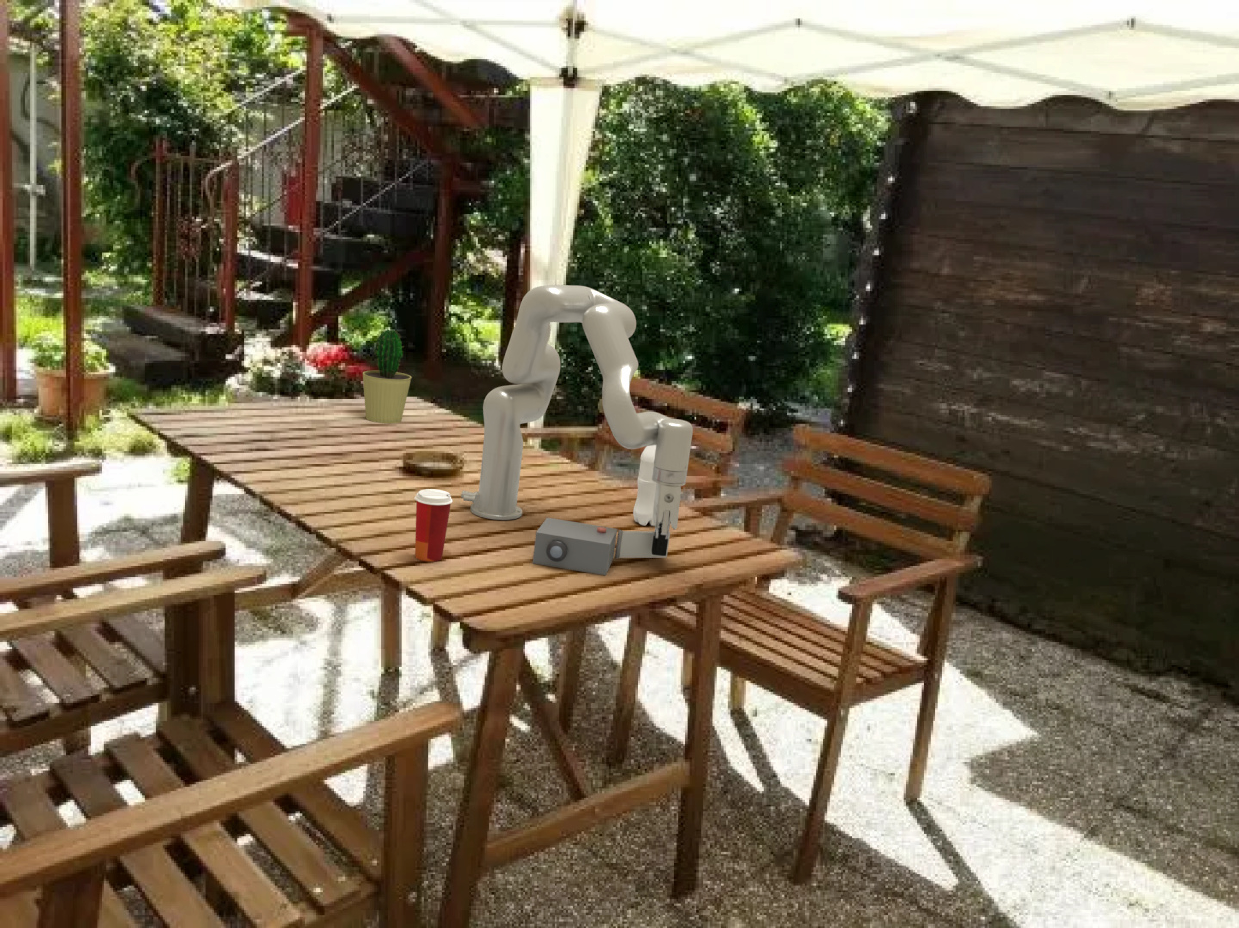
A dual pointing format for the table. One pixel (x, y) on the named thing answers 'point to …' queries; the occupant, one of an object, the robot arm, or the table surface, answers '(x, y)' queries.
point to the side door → (636, 544)
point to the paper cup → (431, 523)
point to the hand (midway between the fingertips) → (658, 554)
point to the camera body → (574, 546)
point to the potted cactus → (386, 382)
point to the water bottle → (645, 488)
